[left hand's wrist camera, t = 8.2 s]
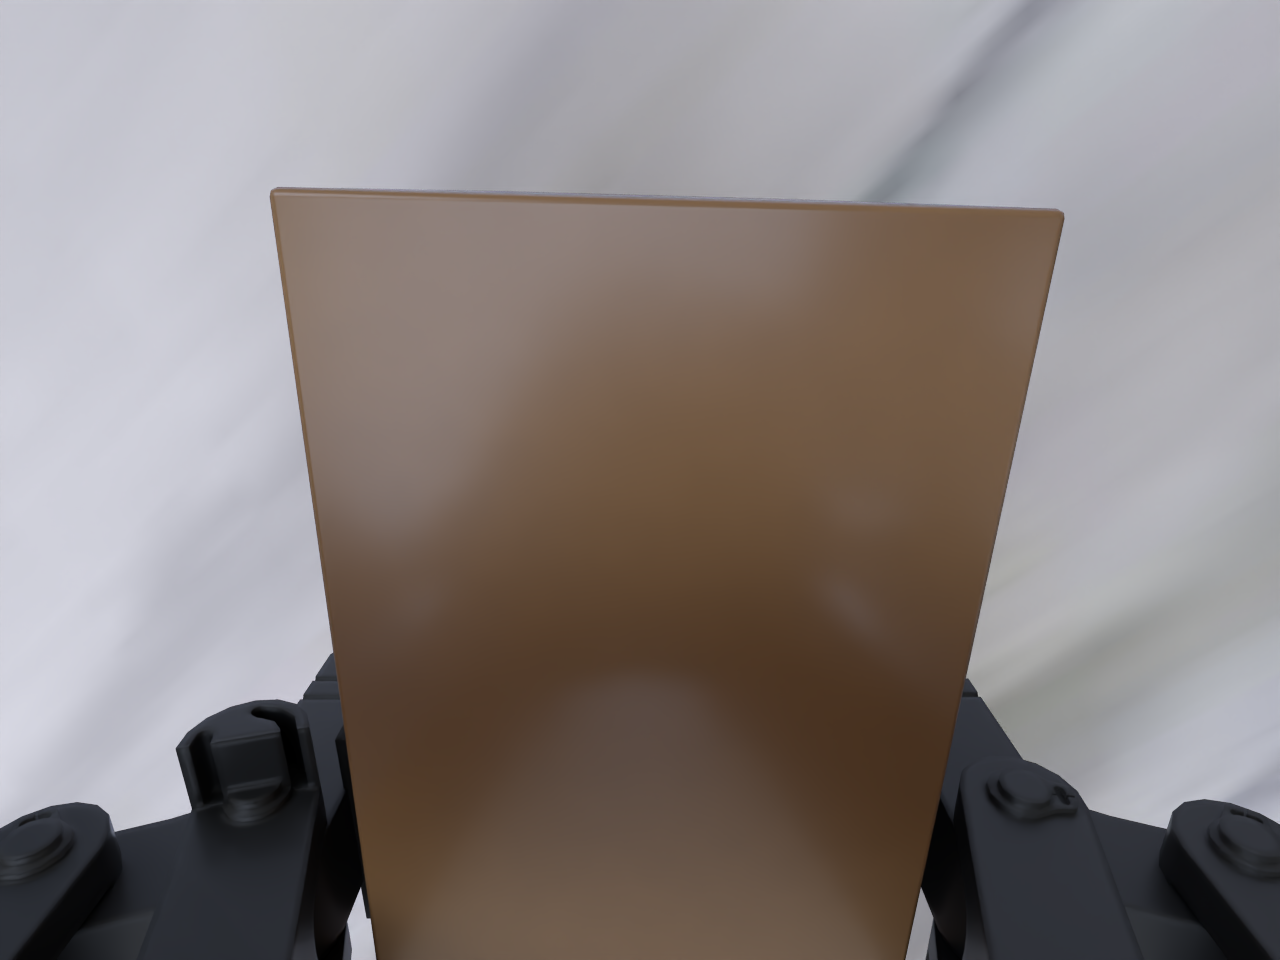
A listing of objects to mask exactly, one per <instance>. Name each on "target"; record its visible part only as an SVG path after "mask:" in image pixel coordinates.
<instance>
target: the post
mask: <svg viewBox="0 0 1280 960" xmlns="http://www.w3.org/2000/svg"><path fill="white" fill-rule="evenodd" d="M270 202H271V209H272V216H273V223H274V230H275V237H276V245H277V252H278V259H279V266H280V273H281V280H282V287H283V295H284V302H285V309H286V316H287V323H288V330H289V338H290V345H291V352H292V359H293V366H294V373H295V380H296V388H297V395H298V402H299V409H300V416H301V423H302V431H303V438H304V445H305V452H306V459H307V466H308V473H309V481H310V488H311V495H312V502H313V509H314V516H315V524H316V531H317V538H318V545H319V552H320V559H321V566H322V574H323V581H324V588H325V595H326V602H327V609H328V616H329V624H330V631H331V638H332V645H333V652H334V659H335V667H336V674H337V681H338V688H339V695H340V702H341V709H342V717H343V724H344V731H345V738H346V745H347V752H348V760H349V767H350V774H351V781H352V788H353V795H354V802H355V810H356V817H357V824H358V831H359V838H360V845H361V853H362V860H363V867H364V874H365V881H366V888H367V895H368V903H369V910H370V917H371V924H372V931H373V938H374V946H375V953H376V960H905V958H906V954H907V949H908V944H909V940H910V935H911V930H912V926H913V921H914V916H915V912H916V907H917V902H918V898H919V893H920V888H921V884H922V879H923V874H924V870H925V865H926V861H927V856H928V851H929V847H930V842H931V837H932V833H933V828H934V823H935V819H936V814H937V809H938V805H939V800H940V795H941V791H942V786H943V781H944V777H945V772H946V767H947V763H948V758H949V753H950V749H951V744H952V739H953V735H954V730H955V725H956V721H957V716H958V712H959V707H960V702H961V698H962V693H963V688H964V684H965V679H966V674H967V670H968V665H969V660H970V656H971V651H972V646H973V642H974V637H975V632H976V628H977V623H978V618H979V614H980V609H981V604H982V600H983V595H984V590H985V586H986V581H987V577H988V572H989V567H990V563H991V558H992V553H993V549H994V544H995V539H996V535H997V530H998V525H999V521H1000V516H1001V511H1002V507H1003V502H1004V497H1005V493H1006V488H1007V483H1008V479H1009V474H1010V469H1011V465H1012V460H1013V455H1014V451H1015V446H1016V441H1017V437H1018V432H1019V428H1020V423H1021V418H1022V414H1023V409H1024V404H1025V400H1026V395H1027V390H1028V386H1029V381H1030V376H1031V372H1032V367H1033V362H1034V358H1035V353H1036V348H1037V344H1038V339H1039V334H1040V330H1041V325H1042V320H1043V316H1044V311H1045V306H1046V302H1047V297H1048V293H1049V288H1050V283H1051V279H1052V274H1053V269H1054V265H1055V260H1056V255H1057V251H1058V246H1059V241H1060V237H1061V232H1062V227H1063V223H1064V213H1063V212H1062V211H1060V210H1058V209H1047V208H1019V207H991V206H964V205H936V204H908V203H880V202H852V201H824V200H796V199H761V198H725V197H689V196H653V195H617V194H582V193H546V192H510V191H461V190H406V189H352V188H298V187H277V188H275V189H273V190H271V193H270Z"/></svg>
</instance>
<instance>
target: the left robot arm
mask: <svg viewBox="0 0 1280 960" xmlns="http://www.w3.org/2000/svg"><path fill="white" fill-rule="evenodd" d="M176 752H177V756H178V759H179V763H180V767H181V770H182V774H183V778H184V781H185V785H186V789H187V792H188V796H189V800H190V803H191V807H192V811H191V813H189V814H185V815H182V816H179V817H176V818H172V819H168V820H164V821H160V822H155V823H151V824H147V825H143V826H138V827H134V828H130V829H125V830H121V831H117V832H114V829H113V826H112V823H111V819H110V816H109V814H108V813H106V812H105V811H104V810H103V809H102V808H100V807H99V806H98V805H93V804H86V803H79V802H75V803H69V804H62V805H55V806H50V807H47V808H44V809H42V810H39V811H36V812H33V813H30V814H28V815H25V816H22V817H20V818H18V819H17V820H15V821H13V822H11V823H9V824H8V825H6V826H4V827H2V828H0V960H351V953H352V948H351V941H350V934H349V929H348V924H347V920H348V917H349V915H350V912H351V910H352V907H353V905H354V903H355V900H356V898H357V895H358V893H359V890H360V888H361V889H362V895H363V900H364V906H365V912H366V917H367V918H371V917H370V910H369V903H368V895H367V888H366V881H365V874H364V867H363V860H362V853H361V845H360V838H359V831H358V824H357V817H356V810H355V802H354V795H353V788H352V781H351V774H350V767H349V760H348V752H347V745H346V738H345V731H344V724H343V717H342V709H341V702H340V695H339V688H338V681H337V674H336V667H335V659H334V652H333V653H332V654H330V656H329V657H328V659H327V660H326V662H325V663H324V665H323V666H322V668H321V669H320V671H319V672H318V674H317V675H316V680H315V681H312V683H311V684H310V686H309V687H308V689H307V690H306V692H305V693H304V695H303V700H300V701H299V702H298V704H294V703H290V702H286V701H282V700H257V701H252V702H248V703H244V704H240V705H236V706H232V707H229V708H227V709H225V710H223V711H221V712H219V713H217V714H214V715H212V716H210V717H208V718H206V719H205V720H204V721H202V722H201V723H200V724H198V725H197V726H196V727H194V728H193V729H191V730H190V731H189V732H187V734H186V735H185V737H184V738H183V739H182V741H181V742H180V743H179V745H178V746H177V747H176ZM921 888H922V890H923V893H924V895H925V898H926V900H927V903H928V905H929V908H930V910H931V912H932V915H933V917H934V918H933V924H932V929H931V934H930V939H929V944H928V950H927V955H926V960H1280V824H1278V823H1276V822H1274V821H1273V820H1271V819H1269V818H1267V817H1265V816H1264V815H1262V814H1260V813H1257V812H1254V811H1251V810H1249V809H1246V808H1243V807H1240V806H1237V805H1234V804H1232V803H1226V802H1220V801H1213V800H1206V799H1202V800H1196V801H1189V802H1184V803H1183V804H1181V805H1180V806H1179V807H1178V808H1177V809H1175V810H1174V811H1173V812H1172V815H1171V818H1170V821H1169V825H1168V828H1167V829H1164V828H1160V827H1155V826H1151V825H1147V824H1142V823H1138V822H1134V821H1129V820H1125V819H1121V818H1117V817H1112V816H1108V815H1105V814H1102V813H1099V812H1095V811H1092V810H1089V809H1088V807H1087V806H1086V804H1085V803H1084V801H1083V800H1082V798H1081V796H1080V795H1079V793H1078V792H1077V790H1075V789H1074V788H1073V787H1072V786H1071V785H1069V784H1068V783H1067V782H1066V781H1065V780H1064V779H1062V778H1061V777H1060V776H1059V775H1057V774H1055V773H1053V772H1051V771H1049V770H1047V769H1045V768H1044V767H1042V766H1040V765H1038V764H1036V763H1032V762H1029V761H1025V760H1023V759H1022V758H1021V756H1020V755H1019V753H1018V752H1017V750H1016V749H1015V747H1014V746H1013V744H1012V743H1011V741H1010V740H1009V738H1008V737H1007V735H1006V734H1005V732H1004V731H1003V729H1002V728H1001V726H1000V725H999V723H998V722H997V720H996V719H995V717H994V716H993V715H992V713H991V712H990V710H989V709H988V707H987V706H986V704H985V703H984V701H983V700H982V698H981V697H978V692H977V691H976V689H975V688H974V686H973V685H972V683H971V682H970V680H969V679H965V684H964V688H963V693H962V698H961V702H960V707H959V712H958V716H957V721H956V725H955V730H954V735H953V739H952V744H951V749H950V753H949V758H948V763H947V767H946V772H945V777H944V781H943V786H942V791H941V795H940V800H939V805H938V809H937V814H936V819H935V823H934V828H933V833H932V837H931V842H930V847H929V851H928V856H927V861H926V865H925V870H924V874H923V879H922V884H921Z"/></svg>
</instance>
